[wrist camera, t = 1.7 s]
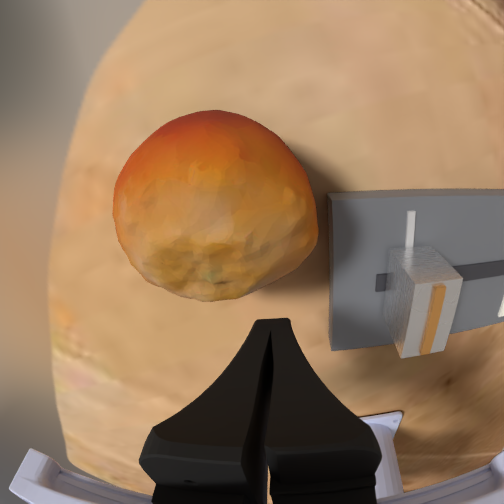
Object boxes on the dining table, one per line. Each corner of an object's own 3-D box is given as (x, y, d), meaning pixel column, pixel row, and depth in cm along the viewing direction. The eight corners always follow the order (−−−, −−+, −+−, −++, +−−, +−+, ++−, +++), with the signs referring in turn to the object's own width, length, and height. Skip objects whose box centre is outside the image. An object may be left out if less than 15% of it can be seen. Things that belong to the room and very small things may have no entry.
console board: (518, 304, 17) (532, 320, 14) (328, 335, 18) (333, 360, 16) (541, 190, 13) (562, 200, 11) (327, 193, 15) (335, 205, 13)
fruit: (293, 61, 11) (332, 178, 7) (304, 188, 18) (322, 317, 13) (122, 96, 12) (47, 222, 8) (173, 205, 19) (151, 326, 14)
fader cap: (420, 310, 15) (445, 352, 12) (382, 315, 16) (401, 361, 12) (430, 245, 14) (465, 280, 10) (389, 248, 14) (416, 287, 11)
